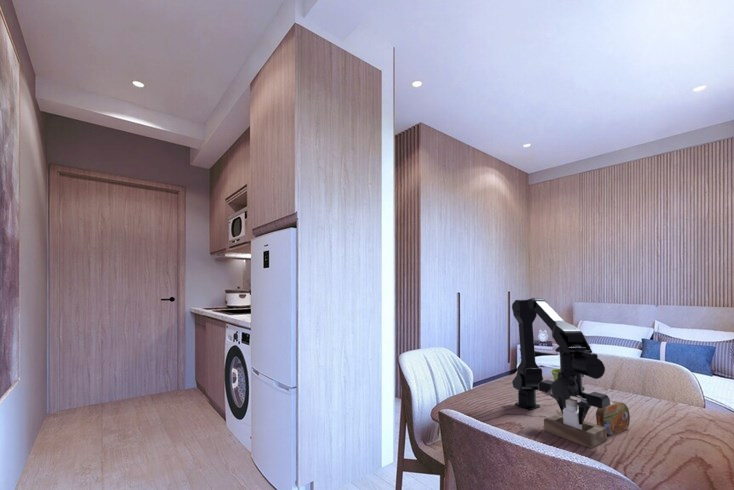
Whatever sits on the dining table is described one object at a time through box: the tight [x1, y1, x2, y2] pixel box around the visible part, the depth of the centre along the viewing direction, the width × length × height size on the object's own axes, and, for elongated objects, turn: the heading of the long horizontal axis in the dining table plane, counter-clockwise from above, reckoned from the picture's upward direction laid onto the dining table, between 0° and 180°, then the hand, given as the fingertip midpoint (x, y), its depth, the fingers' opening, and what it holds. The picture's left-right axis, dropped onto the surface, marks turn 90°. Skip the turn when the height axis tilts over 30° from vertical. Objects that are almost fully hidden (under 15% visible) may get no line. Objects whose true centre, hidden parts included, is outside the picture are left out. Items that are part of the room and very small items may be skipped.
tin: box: [595, 400, 631, 436], centre depth 106 cm, size 15×3×8 cm, turn 117°
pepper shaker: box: [563, 397, 582, 430], centre depth 104 cm, size 4×4×10 cm
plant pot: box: [550, 368, 560, 381], centre depth 144 cm, size 9×9×9 cm
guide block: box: [543, 412, 608, 449], centre depth 103 cm, size 10×13×3 cm
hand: (573, 421), depth 103 cm, fingers open, 4 cm apart
